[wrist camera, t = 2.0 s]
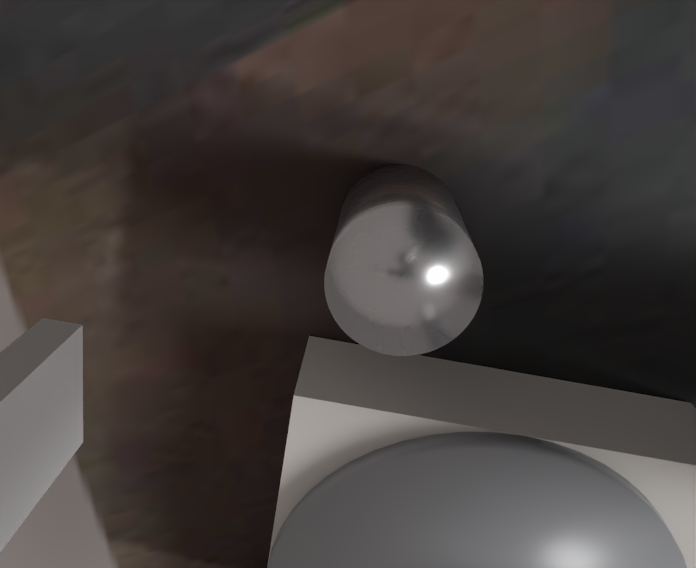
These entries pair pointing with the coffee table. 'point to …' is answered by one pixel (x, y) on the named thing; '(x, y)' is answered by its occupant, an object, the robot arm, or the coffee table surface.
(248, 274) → the coffee table surface
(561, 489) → the scale
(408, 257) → the cylinder
